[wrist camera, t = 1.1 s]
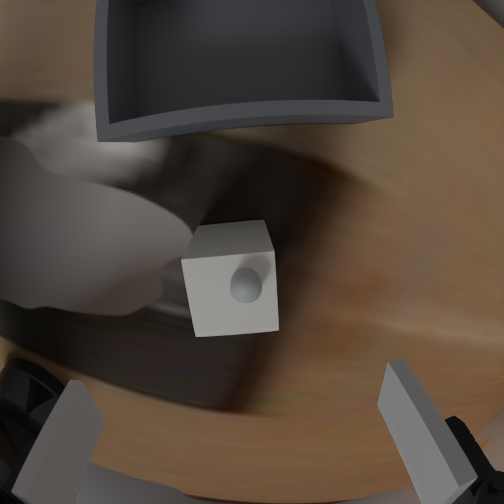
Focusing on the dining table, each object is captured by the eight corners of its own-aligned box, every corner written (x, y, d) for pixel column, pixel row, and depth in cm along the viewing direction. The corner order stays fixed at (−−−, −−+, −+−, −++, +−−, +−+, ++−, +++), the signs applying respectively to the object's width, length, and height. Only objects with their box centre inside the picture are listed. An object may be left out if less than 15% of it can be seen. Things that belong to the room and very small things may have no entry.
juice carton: (207, 284, 30) (194, 344, 20) (198, 225, 28) (178, 265, 18) (268, 279, 30) (280, 338, 20) (263, 219, 28) (276, 256, 18)
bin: (135, 142, 25) (97, 141, 17) (130, 5, 20) (100, -31, 12) (353, 124, 25) (393, 117, 18) (334, -11, 20) (360, -50, 13)
